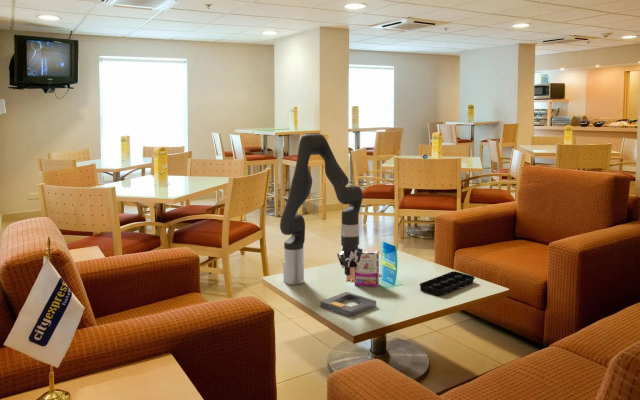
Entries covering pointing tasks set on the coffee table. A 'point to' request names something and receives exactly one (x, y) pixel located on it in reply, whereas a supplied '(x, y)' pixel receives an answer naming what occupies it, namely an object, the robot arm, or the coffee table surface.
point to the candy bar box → (368, 269)
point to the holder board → (337, 307)
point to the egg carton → (446, 283)
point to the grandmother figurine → (352, 270)
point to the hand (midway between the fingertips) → (350, 273)
